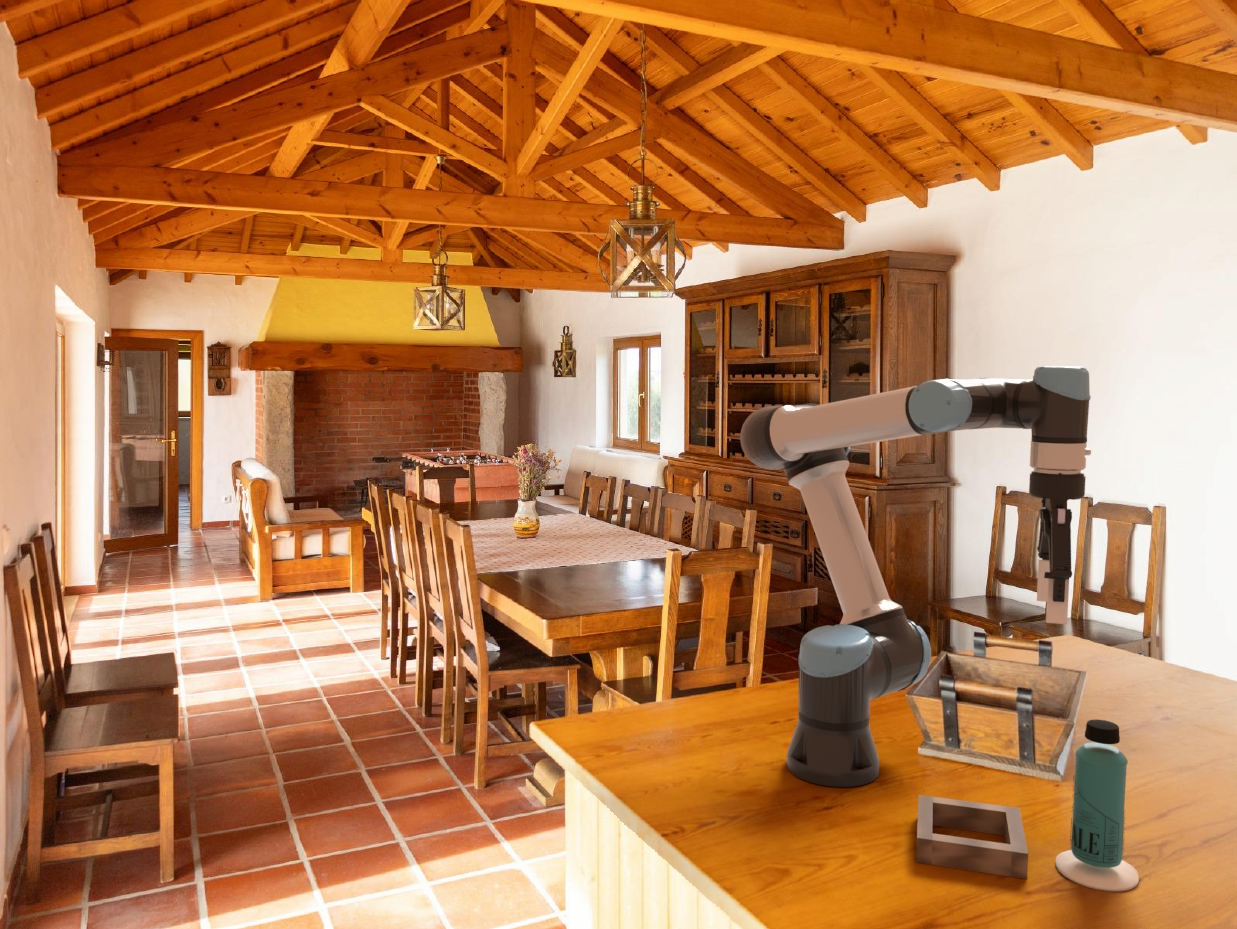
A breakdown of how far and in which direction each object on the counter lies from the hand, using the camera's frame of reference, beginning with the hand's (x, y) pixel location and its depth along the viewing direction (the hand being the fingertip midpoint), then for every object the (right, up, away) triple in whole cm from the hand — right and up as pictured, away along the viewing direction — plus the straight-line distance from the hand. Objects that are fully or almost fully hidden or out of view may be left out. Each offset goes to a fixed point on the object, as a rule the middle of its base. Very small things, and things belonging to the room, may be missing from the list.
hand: (1051, 611), depth 145 cm
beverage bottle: (-1, -32, -15) cm, 36 cm away
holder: (-15, -32, -9) cm, 36 cm away
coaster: (-1, -32, -16) cm, 36 cm away
